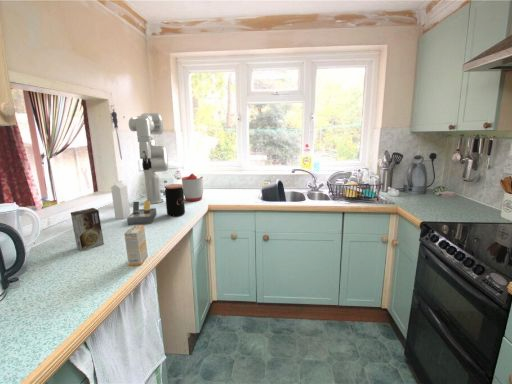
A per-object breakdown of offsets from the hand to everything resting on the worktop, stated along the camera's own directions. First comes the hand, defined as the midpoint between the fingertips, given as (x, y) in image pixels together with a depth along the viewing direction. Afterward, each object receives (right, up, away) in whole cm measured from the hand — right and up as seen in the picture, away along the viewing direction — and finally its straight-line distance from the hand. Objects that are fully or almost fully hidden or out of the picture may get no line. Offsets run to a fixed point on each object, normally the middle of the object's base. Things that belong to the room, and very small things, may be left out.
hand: (147, 168), depth 163 cm
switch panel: (+1, -30, -8) cm, 31 cm away
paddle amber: (+3, -26, -9) cm, 28 cm away
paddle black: (-3, -26, -10) cm, 28 cm away
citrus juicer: (+20, -20, +39) cm, 48 cm away
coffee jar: (+17, -28, +1) cm, 33 cm away
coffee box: (-7, -38, -45) cm, 59 cm away
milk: (-14, -30, -3) cm, 33 cm away
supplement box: (+21, -41, -60) cm, 76 cm away
